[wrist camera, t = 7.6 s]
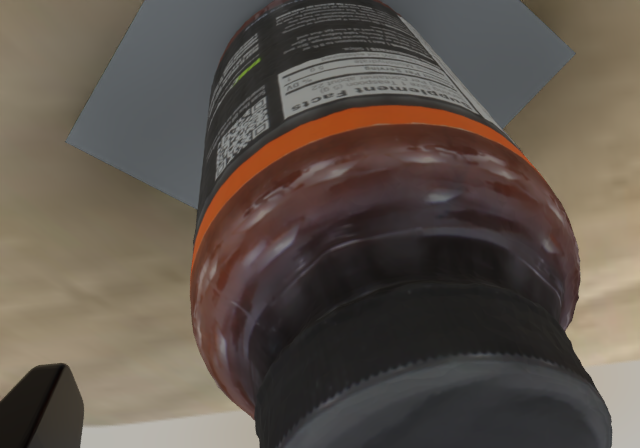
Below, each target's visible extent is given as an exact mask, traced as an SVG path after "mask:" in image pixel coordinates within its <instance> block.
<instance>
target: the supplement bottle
mask: <svg viewBox="0 0 640 448" xmlns="http://www.w3.org/2000/svg"><path fill="white" fill-rule="evenodd" d="M204 143H205V148H204V157H203V166H202V175H201V182H200V192H199V202H198V210H197V219H196V230H195V236H194V240H193V245H194V248H193V260H192V267H191V279H190V300H191V315H192V325H193V333H194V336H195V339H196V343H197V346H198V348H199V351H200V354H201V356H202V358H203V360H204V362H205V364H206V366H207V368H208V371H209V372H210V374H211V376H212V377H213V379H214V380H215V382H216V384H217V386H218V387H219V388H220V389H221V390H222V391H223V392H224V393H225V395H226V396H227V397H228V398H229V399H230V400H231V401H232V402H234V403H235V404H236V405H237V406H238V407H240V408H241V409H242V410H243V411H245V412H246V413H247V414H248V415H250V416H251V417H252V418H253V419H254V420H255V424H256V425H255V427H256V434H257V436H258V438H259V441H260V448H611V446H612V426H611V422H612V421H611V416H610V414H609V411H608V408H607V406H606V404H605V402H604V400H603V398H602V397H601V395H600V394H599V392H598V390H597V389H596V387H595V385H594V383H593V381H592V379H591V377H590V376H589V374H588V373H587V372H586V371H585V369H584V368H583V366H582V364H581V362H580V360H579V359H578V357H577V356H576V354H575V352H574V350H573V347H572V344H571V341H570V340H569V338H567V335H566V333H565V330H566V329H567V327H568V325H569V324H570V323H571V321H572V318H573V314H574V310H575V306H576V303H577V301H578V299H579V296H578V290H579V285H580V258H579V255H578V252H579V249H578V245H577V242H576V238H575V236H574V233H573V230H572V227H571V224H570V221H569V219H568V216H567V214H566V212H565V210H564V208H563V206H562V204H561V202H560V201H559V199H558V198H557V197H556V195H555V194H554V192H553V191H552V189H551V188H550V186H549V185H548V184H547V182H546V181H545V180H544V178H543V177H542V176H541V174H540V173H539V172H538V171H537V170H536V168H535V167H534V166H533V165H532V164H531V163H530V162H529V160H528V159H527V158H526V157H525V156H524V155H523V153H522V151H521V150H520V148H519V147H518V146H517V145H516V144H515V143H514V142H513V141H512V140H511V138H510V137H509V136H508V135H507V134H506V133H505V132H504V131H503V130H502V128H501V127H500V126H499V125H498V124H497V123H496V122H495V121H494V119H493V118H492V117H491V116H490V114H489V113H488V112H487V111H486V109H485V108H484V107H483V106H482V105H481V104H480V103H479V102H478V101H477V100H476V98H475V97H474V96H473V95H472V94H471V93H470V92H469V90H468V89H467V88H466V87H465V86H464V85H463V84H462V83H461V81H460V80H459V79H458V78H457V77H456V75H455V74H454V73H453V72H452V71H451V70H450V68H449V67H448V66H447V65H446V64H445V63H444V62H443V60H442V59H441V58H440V57H439V56H438V55H437V54H436V52H435V51H434V50H433V49H432V48H431V46H430V45H429V44H428V43H427V42H426V41H425V40H424V39H423V38H422V36H421V35H420V34H419V33H418V32H417V31H416V30H415V29H414V28H413V27H412V26H411V25H410V24H409V23H408V22H407V21H406V20H405V19H403V18H402V17H401V15H400V14H398V13H396V12H395V11H394V10H393V9H392V8H391V7H389V6H388V5H387V4H384V3H383V2H381V1H379V0H274V1H273V2H271V3H269V4H268V5H267V6H266V7H264V8H263V9H261V10H260V11H258V12H257V13H255V14H254V15H253V16H252V17H251V18H250V19H249V20H247V21H246V22H245V23H244V24H243V25H242V27H241V28H240V29H239V30H238V31H237V32H236V33H235V35H234V36H233V37H232V38H231V40H230V42H229V43H228V45H227V47H226V49H225V51H224V53H223V55H222V57H221V59H220V61H219V64H218V67H217V70H216V72H215V75H214V79H213V84H212V86H211V94H210V100H209V110H208V119H207V128H206V134H205V142H204Z"/></svg>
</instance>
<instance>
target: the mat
mask: <svg viewBox="0 0 640 448" xmlns="http://www.w3.org/2000/svg"><path fill="white" fill-rule="evenodd" d="M273 1H274V0H144V2H143V4H142V6H141V7H140V9H139V11H138V13H137V14H136V16H135V18H134V20H133V22H132V23H131V25H130V27H129V29H128V30H127V32H126V34H125V36H124V38H123V39H122V41H121V43H120V45H119V46H118V48H117V50H116V52H115V54H114V55H113V57H112V59H111V61H110V62H109V64H108V66H107V68H106V69H105V71H104V73H103V75H102V77H101V78H100V80H99V82H98V84H97V85H96V87H95V89H94V91H93V93H92V94H91V96H90V98H89V100H88V101H87V103H86V105H85V107H84V109H83V110H82V112H81V114H80V116H79V117H78V119H77V121H76V123H75V125H74V126H73V128H72V130H71V132H70V134H69V136H68V137H67V139H66V141H65V142H66V143H68V144H70V145H72V146H74V147H76V148H78V149H80V150H82V151H84V152H86V153H87V154H89V155H91V156H93V157H95V158H97V159H99V160H101V161H103V162H105V163H107V164H109V165H111V166H113V167H115V168H117V169H119V170H121V171H123V172H125V173H127V174H128V175H130V176H132V177H134V178H136V179H138V180H140V181H142V182H144V183H146V184H148V185H150V186H152V187H154V188H156V189H158V190H160V191H162V192H164V193H166V194H168V195H169V196H171V197H173V198H175V199H177V200H179V201H181V202H183V203H185V204H187V205H189V206H191V207H193V208H195V209H197V210H198V202H199V192H200V182H201V175H202V166H203V157H204V148H205V143H204V142H205V134H206V128H207V119H208V110H209V100H210V94H211V86H212V84H213V79H214V75H215V72H216V70H217V67H218V64H219V61H220V59H221V57H222V55H223V53H224V51H225V49H226V47H227V45H228V43H229V42H230V40H231V38H232V37H233V36H234V35H235V33H236V32H237V31H238V30H239V29H240V28H241V27H242V25H243V24H244V23H245V22H246V21H247V20H249V19H250V18H251V17H252V16H253V15H254V14H255V13H257V12H258V11H260V10H261V9H263V8H264V7H266V6H267V5H268V4H269V3H271V2H273ZM379 1H381V2H383V3H384V4H387V5H388V6H389V7H391V8H392V9H393V10H394V11H395V12H396V13H398V14H400V15H401V17H402V18H403V19H405V20H406V21H407V22H408V23H409V24H410V25H411V26H412V27H413V28H414V29H415V30H416V31H417V32H418V33H419V34H420V35H421V36H422V38H423V39H424V40H425V41H426V42H427V43H428V44H429V45H430V46H431V48H432V49H433V50H434V51H435V52H436V54H437V55H438V56H439V57H440V58H441V59H442V60H443V62H444V63H445V64H446V65H447V66H448V67H449V68H450V70H451V71H452V72H453V73H454V74H455V75H456V77H457V78H458V79H459V80H460V81H461V83H462V84H463V85H464V86H465V87H466V88H467V89H468V90H469V92H470V93H471V94H472V95H473V96H474V97H475V98H476V100H477V101H478V102H479V103H480V104H481V105H482V106H483V107H484V108H485V109H486V111H487V112H488V113H489V114H490V116H491V117H492V118H493V119H494V121H495V122H496V123H497V124H498V125H499V126H500V127H501V128H502V129H503V128H504V127H505V126H506V125H507V124H508V123H509V122H510V121H511V120H512V119H513V118H514V117H515V116H516V115H517V114H518V113H519V112H520V111H521V110H522V109H523V108H524V107H525V105H526V104H527V103H528V102H529V101H530V100H531V99H532V98H533V97H534V96H535V95H536V94H537V93H538V92H539V91H540V90H541V89H542V88H543V87H544V86H545V85H546V84H547V83H548V82H549V81H550V80H551V79H552V78H553V77H554V76H555V75H556V74H557V73H558V72H559V71H560V70H561V68H562V67H563V66H564V65H565V64H566V63H567V62H568V61H569V60H570V59H571V58H572V57H573V56H574V55H575V54H576V53H575V52H574V51H573V50H572V49H571V48H570V47H569V46H568V45H566V44H565V43H564V42H563V41H562V40H561V39H560V38H559V37H558V36H557V35H556V34H555V33H554V32H553V31H552V30H551V29H550V28H549V27H547V26H546V25H545V24H544V23H543V22H542V21H541V20H540V19H539V18H538V17H537V16H536V15H535V14H534V13H533V12H532V11H531V10H530V9H528V8H527V7H526V6H525V5H524V4H523V3H522V2H521V1H520V0H379Z"/></svg>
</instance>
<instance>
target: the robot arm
mask: <svg viewBox="0 0 640 448" xmlns="http://www.w3.org/2000/svg"><path fill="white" fill-rule="evenodd" d="M83 419H84V404H83V400H82V397H81V394H80V392H79V389H78V387H77V384H76V382H75V379H74V377H73V374H72V372H71V370H70V368H69V366H68V365H66V364H64V363H57V364H46V365H39V366H36V367H34V368H33V369H31V370H30V371H29V372H28V373H27V374H26V375H25V376H24V377H23V378H22V379H21V380H20V381H19V382H18V384H17V385H16V386H15V387H14V388H13V389H12V390H11V391H10V392H9V393H8V394H7V395H6V396H5V397H4V398H3V399H2V400H1V401H0V448H80V444H81V435H82V427H83Z"/></svg>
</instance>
